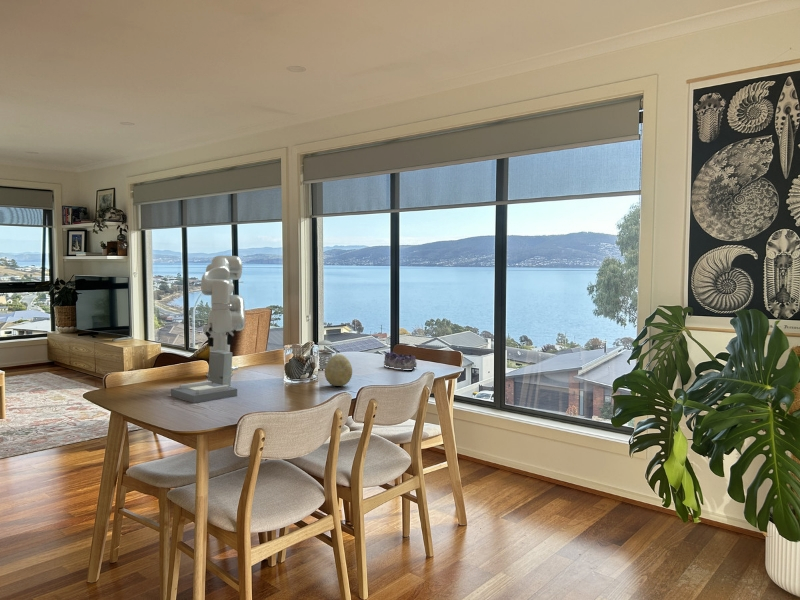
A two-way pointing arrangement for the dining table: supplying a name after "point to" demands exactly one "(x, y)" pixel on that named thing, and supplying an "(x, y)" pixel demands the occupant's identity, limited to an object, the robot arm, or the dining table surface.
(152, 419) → the dining table surface
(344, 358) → the fossilized egg
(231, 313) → the robot arm
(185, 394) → the panel
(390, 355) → the geode
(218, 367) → the skincare box
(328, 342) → the french press
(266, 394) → the dining table surface
